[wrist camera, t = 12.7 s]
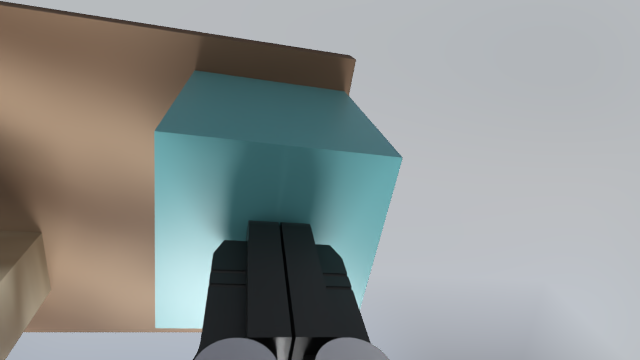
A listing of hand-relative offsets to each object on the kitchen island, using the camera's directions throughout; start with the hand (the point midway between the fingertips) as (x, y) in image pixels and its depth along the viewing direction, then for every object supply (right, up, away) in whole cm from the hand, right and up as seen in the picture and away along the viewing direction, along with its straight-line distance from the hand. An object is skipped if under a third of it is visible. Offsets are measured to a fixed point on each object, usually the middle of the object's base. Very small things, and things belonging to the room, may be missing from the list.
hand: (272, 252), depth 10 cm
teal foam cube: (-1, +3, +6) cm, 7 cm away
